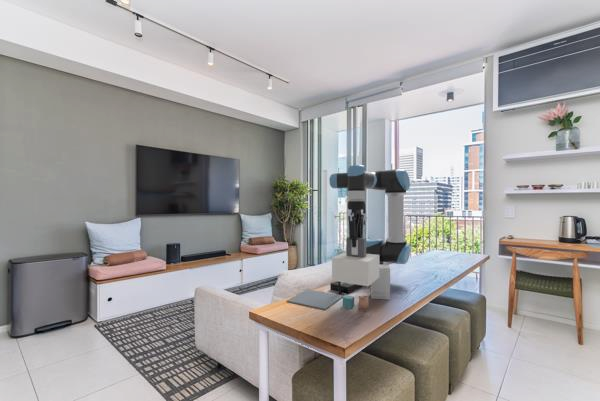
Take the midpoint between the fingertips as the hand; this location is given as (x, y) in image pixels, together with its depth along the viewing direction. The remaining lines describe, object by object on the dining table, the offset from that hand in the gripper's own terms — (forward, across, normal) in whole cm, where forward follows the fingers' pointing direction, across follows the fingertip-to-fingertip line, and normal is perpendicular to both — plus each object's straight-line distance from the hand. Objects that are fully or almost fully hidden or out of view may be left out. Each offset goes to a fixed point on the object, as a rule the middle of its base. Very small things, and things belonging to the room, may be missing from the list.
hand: (356, 253), depth 129 cm
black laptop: (+24, -21, -14) cm, 35 cm away
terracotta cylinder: (+24, 0, +4) cm, 24 cm away
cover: (+11, 0, 0) cm, 11 cm away
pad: (+24, 0, -20) cm, 31 cm away
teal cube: (+24, 0, -4) cm, 24 cm away
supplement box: (+24, -20, +5) cm, 31 cm away
